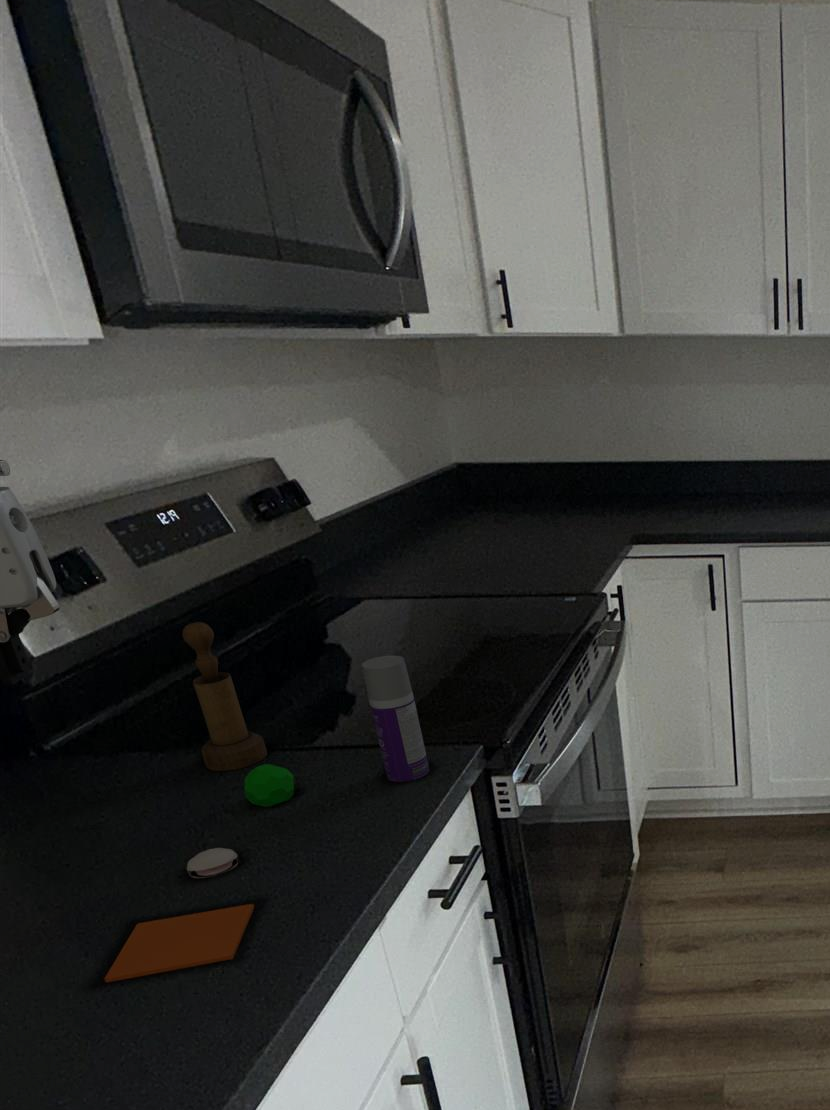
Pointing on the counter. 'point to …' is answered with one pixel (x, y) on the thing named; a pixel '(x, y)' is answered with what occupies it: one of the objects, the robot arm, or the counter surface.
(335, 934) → the counter surface
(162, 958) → the orange cloth
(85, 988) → the counter surface
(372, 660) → the container
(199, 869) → the macaroon
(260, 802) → the polyhedron
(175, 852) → the counter surface
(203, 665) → the mortar and pestle
